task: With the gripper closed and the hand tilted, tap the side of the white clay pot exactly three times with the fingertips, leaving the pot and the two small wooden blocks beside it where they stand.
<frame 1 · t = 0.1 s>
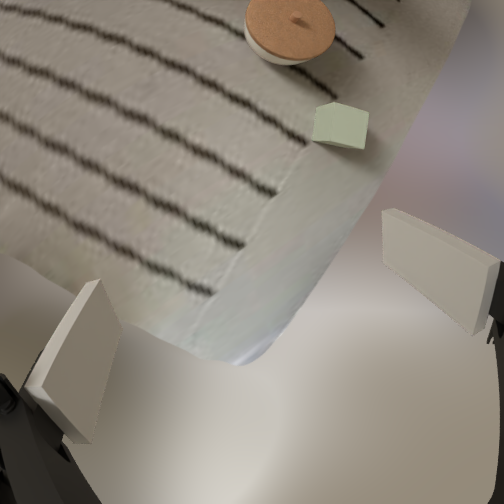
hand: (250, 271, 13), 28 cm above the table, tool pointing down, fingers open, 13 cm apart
lidded jar: (276, 40, 32), on the table
sage block: (330, 127, 38), on the table
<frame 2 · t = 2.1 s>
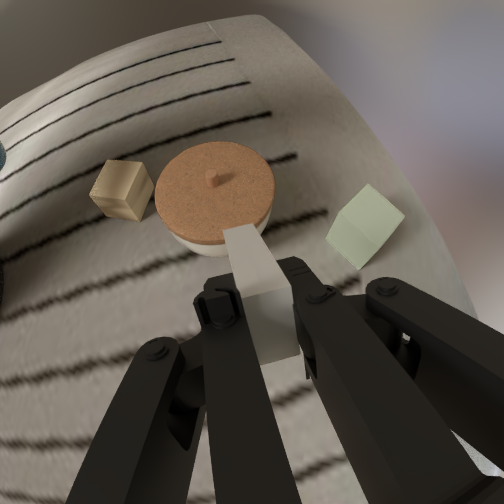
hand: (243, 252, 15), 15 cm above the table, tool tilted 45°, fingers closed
lidded jar: (222, 226, 32), on the table
beech block: (130, 201, 34), on the table
sage block: (355, 240, 31), on the table
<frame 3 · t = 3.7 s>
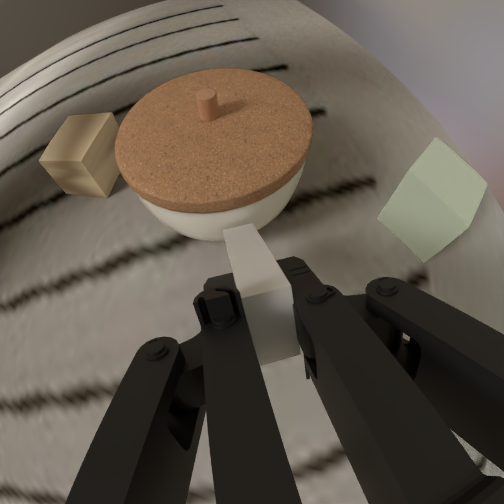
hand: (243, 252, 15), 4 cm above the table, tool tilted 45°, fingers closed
lidded jar: (224, 198, 21), on the table, touching gripper
beech block: (97, 172, 23), on the table
sage block: (415, 221, 20), on the table
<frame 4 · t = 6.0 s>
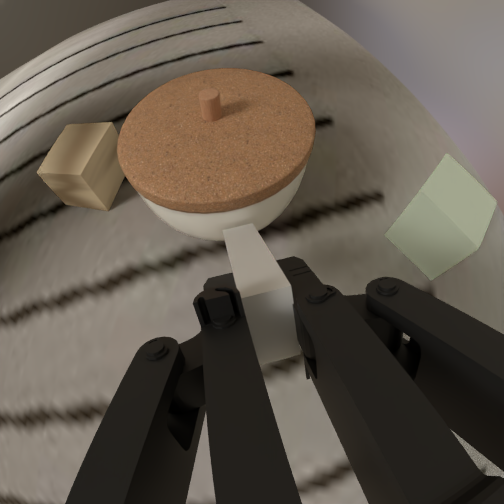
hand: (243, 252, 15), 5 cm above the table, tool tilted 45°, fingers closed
lidded jar: (225, 198, 21), on the table, touching gripper
beech block: (98, 183, 22), on the table
sage block: (422, 237, 20), on the table
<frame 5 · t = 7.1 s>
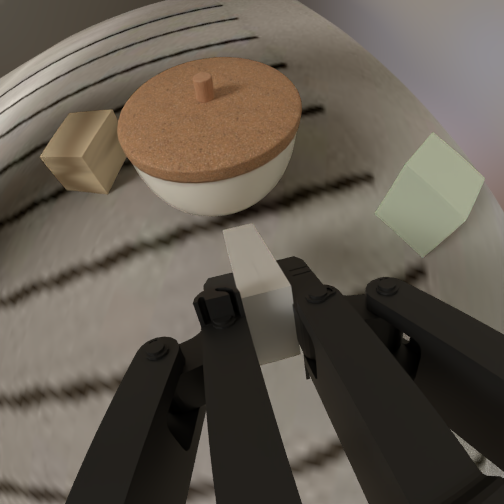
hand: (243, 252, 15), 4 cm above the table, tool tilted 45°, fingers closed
lidded jar: (220, 180, 22), on the table
beech block: (98, 169, 23), on the table
sage block: (413, 216, 21), on the table
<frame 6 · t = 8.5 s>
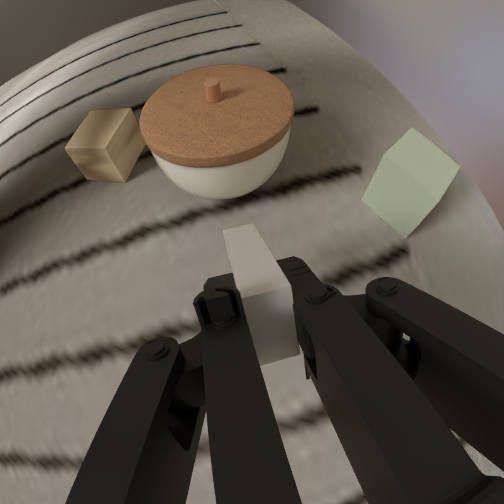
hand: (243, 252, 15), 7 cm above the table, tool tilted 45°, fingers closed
lidded jar: (225, 171, 25), on the table
beech block: (116, 161, 26), on the table
sage block: (397, 203, 23), on the table
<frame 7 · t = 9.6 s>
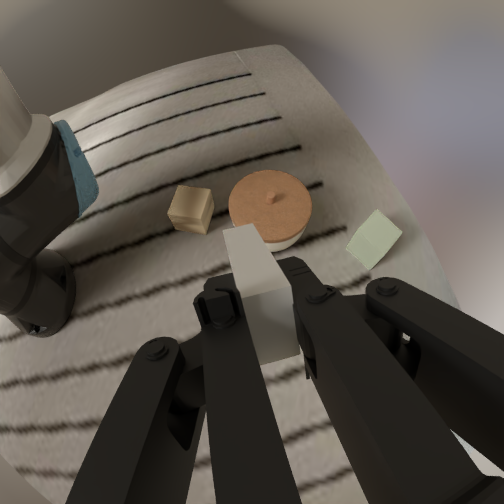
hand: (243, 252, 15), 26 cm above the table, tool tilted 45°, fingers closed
lidded jar: (268, 230, 44), on the table
beech block: (195, 218, 45), on the table
sage block: (366, 248, 43), on the table
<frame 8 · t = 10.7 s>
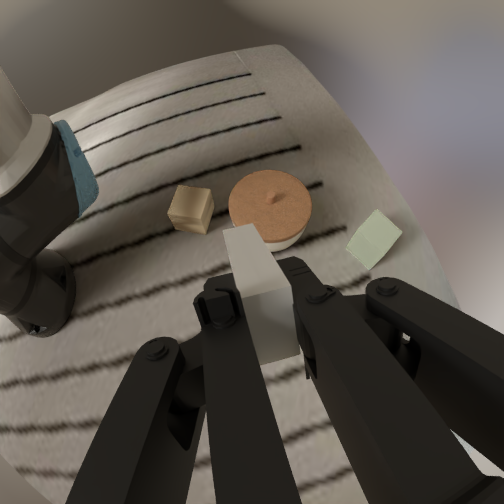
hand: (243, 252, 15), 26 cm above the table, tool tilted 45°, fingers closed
lidded jar: (268, 230, 44), on the table
beech block: (195, 218, 45), on the table
sage block: (366, 248, 43), on the table
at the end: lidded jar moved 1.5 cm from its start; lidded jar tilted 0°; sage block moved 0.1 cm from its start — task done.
